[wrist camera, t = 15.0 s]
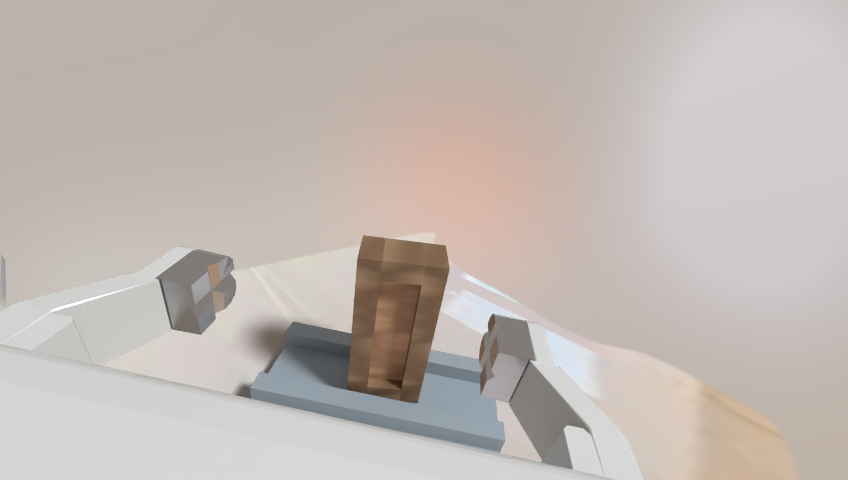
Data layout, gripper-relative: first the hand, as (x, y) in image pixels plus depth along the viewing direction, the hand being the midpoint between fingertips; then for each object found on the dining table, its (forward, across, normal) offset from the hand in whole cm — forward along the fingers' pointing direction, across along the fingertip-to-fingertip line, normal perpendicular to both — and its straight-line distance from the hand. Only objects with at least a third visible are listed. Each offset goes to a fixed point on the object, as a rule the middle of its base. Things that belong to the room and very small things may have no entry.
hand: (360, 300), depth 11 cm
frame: (+12, -1, +19) cm, 23 cm away
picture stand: (+12, -1, +21) cm, 24 cm away
